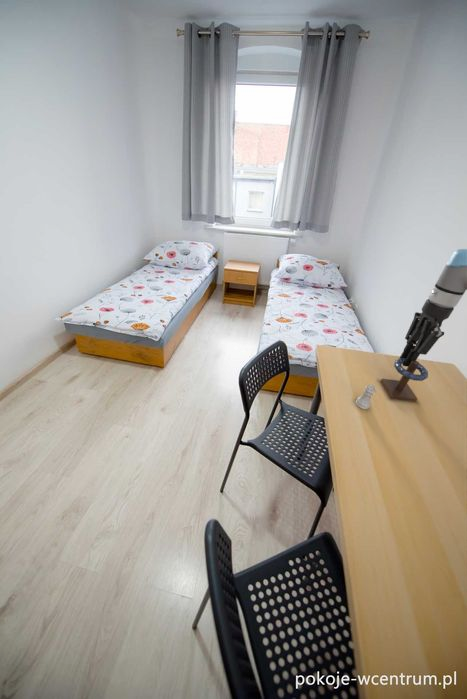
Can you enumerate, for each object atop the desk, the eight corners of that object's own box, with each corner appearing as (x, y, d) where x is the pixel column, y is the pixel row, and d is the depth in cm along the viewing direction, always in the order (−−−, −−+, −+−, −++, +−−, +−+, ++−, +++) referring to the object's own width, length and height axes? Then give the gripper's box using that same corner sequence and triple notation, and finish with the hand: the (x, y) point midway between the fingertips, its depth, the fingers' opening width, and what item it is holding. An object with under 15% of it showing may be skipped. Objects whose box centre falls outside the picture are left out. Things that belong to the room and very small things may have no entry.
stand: (403, 384, 104) (422, 355, 96) (415, 401, 96) (436, 372, 88) (380, 381, 103) (396, 352, 96) (390, 398, 96) (408, 369, 88)
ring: (416, 362, 99) (418, 358, 98) (432, 383, 91) (435, 378, 90) (388, 360, 98) (390, 355, 97) (402, 380, 90) (405, 375, 89)
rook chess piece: (352, 403, 92) (361, 385, 88) (359, 398, 95) (368, 380, 90) (364, 411, 90) (374, 394, 85) (371, 406, 92) (381, 388, 87)
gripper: (416, 291, 90) (385, 349, 104) (443, 313, 78) (404, 376, 91) (438, 293, 90) (405, 351, 104) (469, 316, 78) (426, 378, 91)
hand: (404, 362), depth 98 cm, fingers closed on ring, 2 cm apart
